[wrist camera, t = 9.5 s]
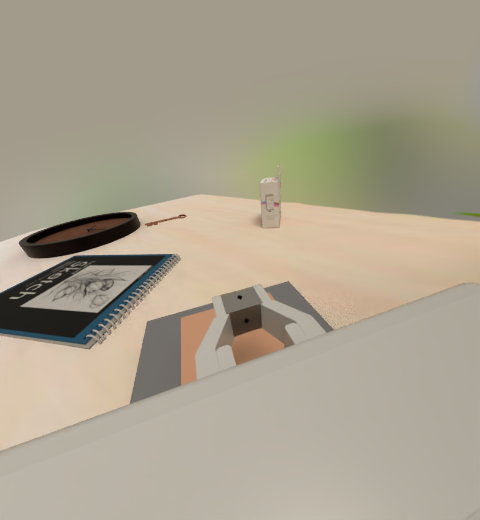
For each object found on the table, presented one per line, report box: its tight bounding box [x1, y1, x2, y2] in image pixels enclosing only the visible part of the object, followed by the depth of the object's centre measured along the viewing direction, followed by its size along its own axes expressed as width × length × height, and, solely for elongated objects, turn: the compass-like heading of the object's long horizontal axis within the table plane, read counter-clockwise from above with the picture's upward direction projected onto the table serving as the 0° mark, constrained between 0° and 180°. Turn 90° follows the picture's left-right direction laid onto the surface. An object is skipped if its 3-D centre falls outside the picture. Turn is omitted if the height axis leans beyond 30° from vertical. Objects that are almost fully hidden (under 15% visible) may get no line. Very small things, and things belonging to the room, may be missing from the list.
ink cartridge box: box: [259, 165, 281, 228], centre depth 48 cm, size 9×5×15 cm, turn 167°
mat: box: [130, 281, 333, 404], centre depth 16 cm, size 20×22×1 cm
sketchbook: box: [0, 254, 181, 349], centre depth 33 cm, size 22×30×2 cm
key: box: [145, 215, 186, 226], centre depth 67 cm, size 6×1×15 cm
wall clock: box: [19, 212, 140, 258], centre depth 61 cm, size 31×4×31 cm
